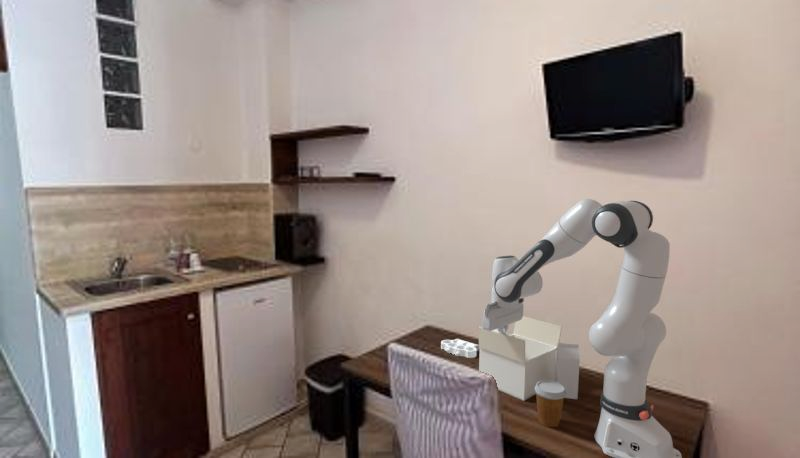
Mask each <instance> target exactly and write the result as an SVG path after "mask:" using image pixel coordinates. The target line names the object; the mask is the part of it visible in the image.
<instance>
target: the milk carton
mask: <svg viewBox="0 0 800 458" xmlns="http://www.w3.org/2000/svg"><path fill="white" fill-rule="evenodd" d="M580 360H581V359H580V351H579V343H565V342H563V343H562V342H559V343H558V344H557V348H556V356H555V376H554V382H557V383H559V384H561V385H562V386H564V388H565V391H566V395H565V397H564V399H571V400H578V395H579V394H578V393H579V378H580V377H579V375H580Z"/></svg>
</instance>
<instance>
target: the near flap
mask: <svg viewBox="0 0 800 458" xmlns="http://www.w3.org/2000/svg"><path fill="white" fill-rule="evenodd" d="M509 335H510V334H507V335H505V334H502V333H499V332H496V331H493V330H492V331H488V330H485V329H483V327H482V326H478V345H479V347H481V348H483V349H486V350H489V351H492V352H495V353H497V354H500V355H503V356H506V357H509V358H511V359H514V360H517V361H520V362H523V363H525V341H524V340H521V339H518V338H515V337H512V336H509Z"/></svg>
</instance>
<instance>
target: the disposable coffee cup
mask: <svg viewBox="0 0 800 458" xmlns="http://www.w3.org/2000/svg"><path fill="white" fill-rule="evenodd" d="M535 392H536V394H535V396H536V398H535V399H536V407H537V409H536V410H537V421H538V423H539V424H540V425H542V426H544V427H547V428H556V427H558V426H559V424H560V421H561V415H562V409H563V405H564V399H565V398H564V397H565V395H566V391H565V388H564V386H562V385H561V384H559V383H557V382H553V381H539V382H537V384H536V386H535Z"/></svg>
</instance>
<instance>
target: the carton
mask: <svg viewBox="0 0 800 458" xmlns="http://www.w3.org/2000/svg"><path fill="white" fill-rule="evenodd" d="M508 335H509V336H512V337H515V338H518V339H521V340H524V341H525V363H523V362H520V361H517V360H514V359H511V358H509V357H506V356H503V355H500V354H497V353H495V352H492V351H489V350H486V349H483V348H481V347H480V349H479V351H478V352H479V354H478V355H479V356H478V357H479V358H478V360H479V362H478V372H479V371H481V372H484V373H487V374H489V375H492V376H493V377H494V379H495V380H496V383H497V387H498V391H500V392H502V393H505V394H507V395H509V396H511V397H514V398H516V399H519V400H521V401H523V402H525V401H526V400H528V399H530V398H533V396H536V392H535V386H536V384H537V382H539V381H553V382H554V376H555V356H556V348H557V347H555V346H552V345H549V344H545V343H542V342H539V341H536V340H532V339H529V338H526V337H523V336H519V335H516V334H513V333H512V334H511V333H510V334H508Z"/></svg>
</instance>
